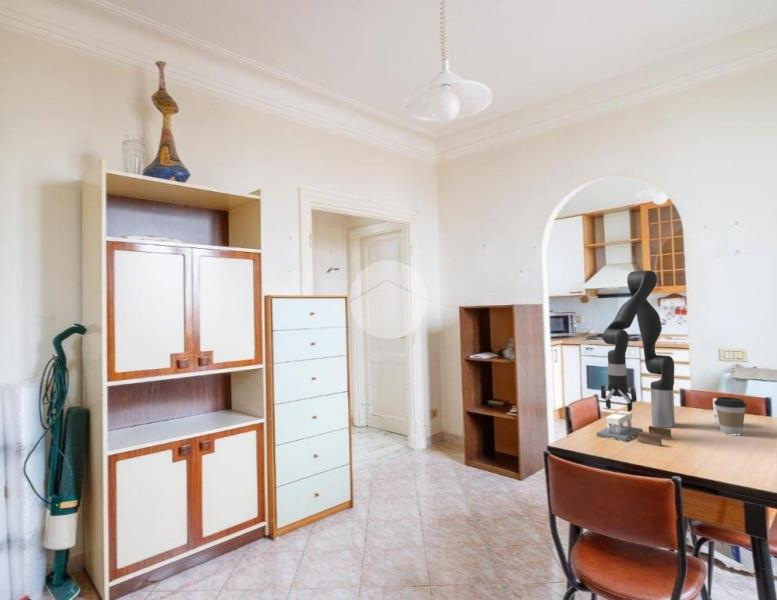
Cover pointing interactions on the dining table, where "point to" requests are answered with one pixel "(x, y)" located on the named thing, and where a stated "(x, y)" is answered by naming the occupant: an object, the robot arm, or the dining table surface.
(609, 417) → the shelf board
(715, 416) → the ink box
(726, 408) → the coffee cup
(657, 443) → the rails
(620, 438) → the peg rack
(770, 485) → the dining table surface
